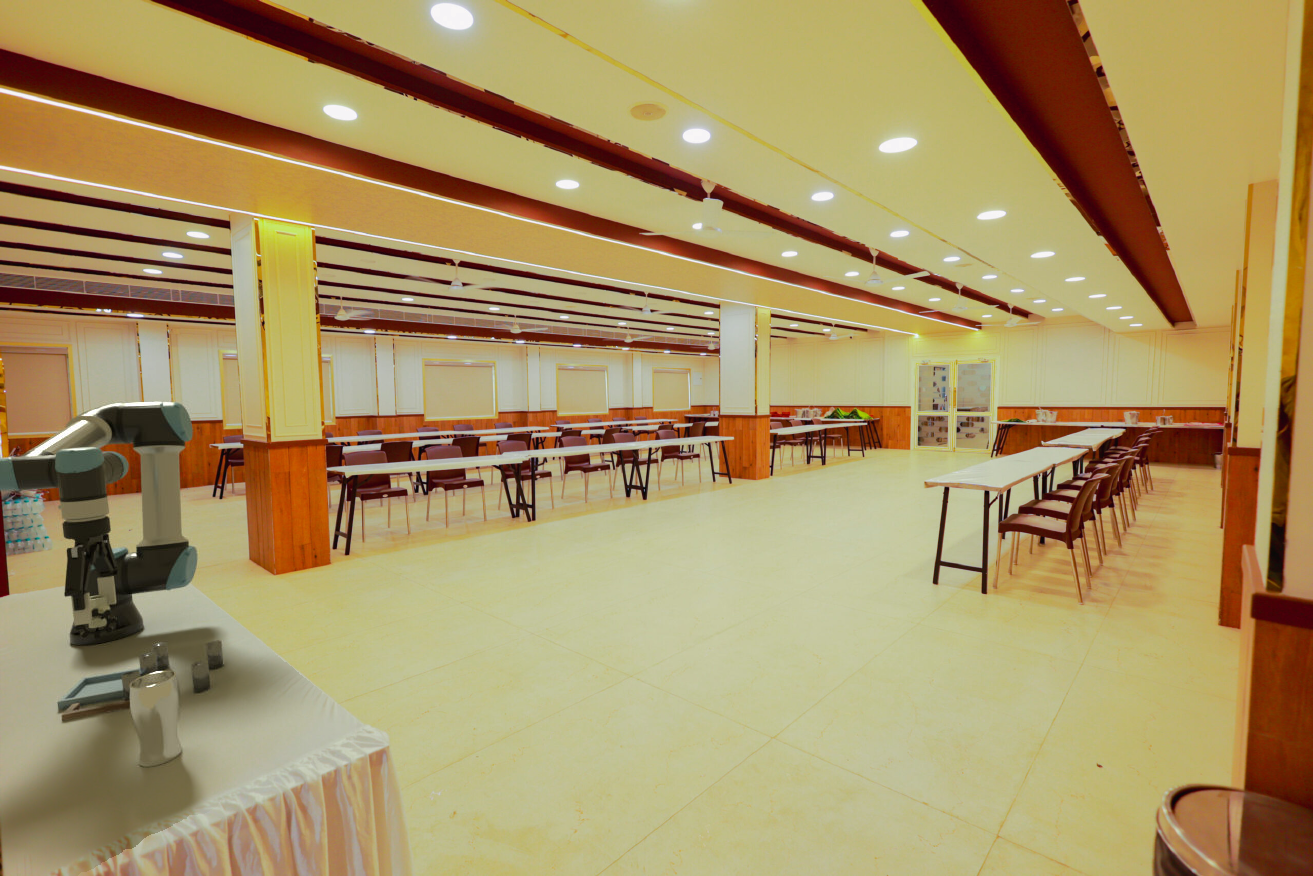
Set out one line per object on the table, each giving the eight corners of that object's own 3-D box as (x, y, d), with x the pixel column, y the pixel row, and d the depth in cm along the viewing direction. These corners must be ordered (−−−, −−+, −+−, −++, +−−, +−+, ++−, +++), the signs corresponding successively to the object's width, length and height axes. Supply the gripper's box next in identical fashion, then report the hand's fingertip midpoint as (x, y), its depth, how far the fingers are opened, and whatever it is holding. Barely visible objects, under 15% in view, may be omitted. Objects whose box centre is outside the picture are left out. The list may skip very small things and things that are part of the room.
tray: (83, 685, 137) (82, 677, 137) (146, 674, 142) (146, 667, 142) (58, 710, 127) (57, 702, 127) (127, 697, 132) (126, 689, 131)
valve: (79, 626, 136) (76, 643, 127) (76, 598, 135) (73, 613, 126) (118, 618, 140) (118, 634, 131) (116, 591, 140) (115, 605, 131)
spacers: (153, 667, 146) (150, 643, 145) (229, 654, 152) (227, 631, 151) (120, 707, 127) (117, 680, 127) (208, 690, 134) (205, 665, 133)
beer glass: (155, 746, 113) (147, 671, 112) (193, 744, 114) (186, 668, 112) (125, 770, 106) (117, 690, 105) (167, 767, 107) (159, 687, 105)
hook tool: (72, 709, 127) (72, 704, 127) (155, 694, 133) (154, 689, 132) (62, 720, 123) (61, 715, 123) (147, 704, 128) (147, 699, 128)
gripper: (88, 509, 140) (98, 599, 142) (33, 532, 118) (46, 637, 120) (129, 506, 143) (138, 594, 145) (82, 527, 121) (94, 630, 123)
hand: (96, 613), depth 133 cm, fingers closed on valve, 12 cm apart
